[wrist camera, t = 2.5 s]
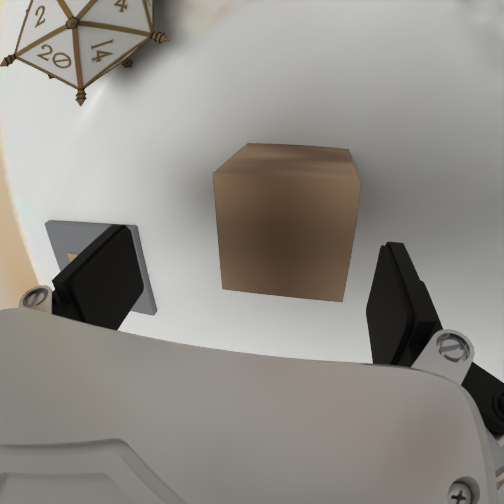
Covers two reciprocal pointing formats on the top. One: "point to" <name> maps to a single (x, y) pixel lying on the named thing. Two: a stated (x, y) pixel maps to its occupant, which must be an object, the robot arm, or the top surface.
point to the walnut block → (287, 220)
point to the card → (82, 234)
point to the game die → (83, 38)
